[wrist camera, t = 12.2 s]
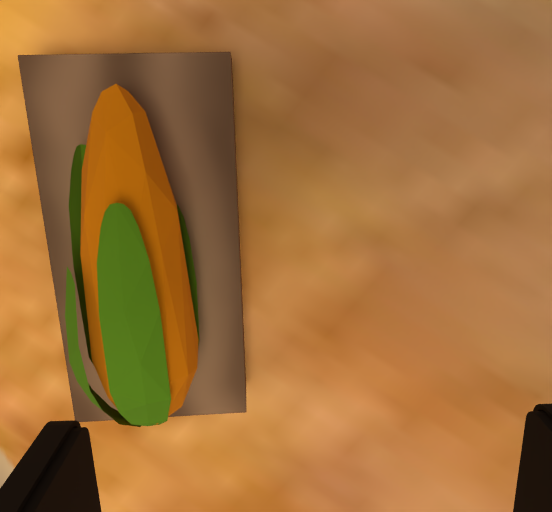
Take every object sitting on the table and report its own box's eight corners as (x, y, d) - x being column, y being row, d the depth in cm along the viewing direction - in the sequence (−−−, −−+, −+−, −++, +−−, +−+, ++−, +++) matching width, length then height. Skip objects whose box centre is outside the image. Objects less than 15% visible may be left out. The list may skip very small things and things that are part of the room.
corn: (68, 472, 26) (-4, 80, 21) (98, 395, 34) (51, 90, 28) (206, 456, 27) (172, 75, 22) (206, 384, 34) (181, 86, 29)
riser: (231, 59, 32) (230, 51, 28) (245, 382, 39) (246, 412, 35) (45, 62, 31) (17, 55, 27) (92, 391, 38) (75, 422, 34)
